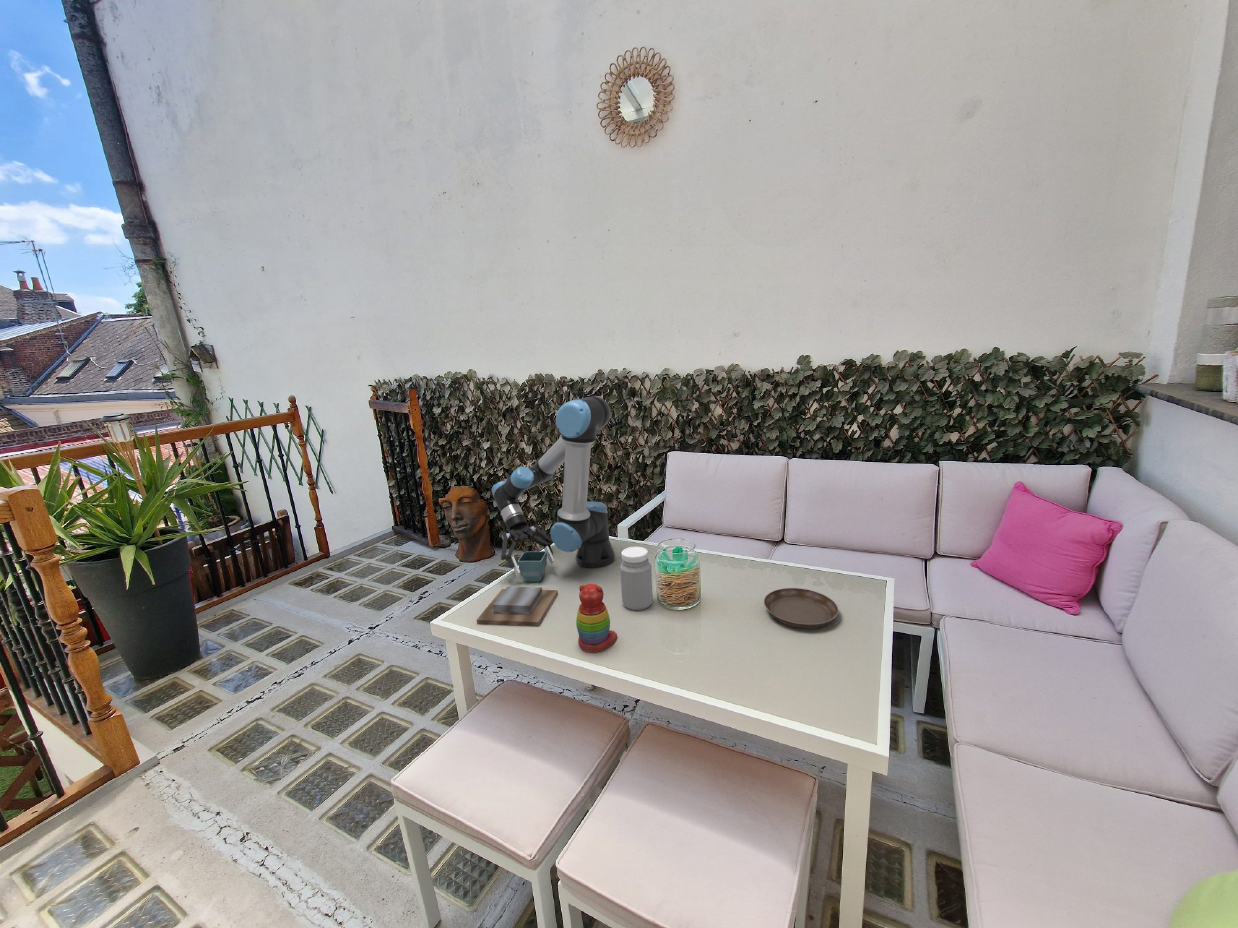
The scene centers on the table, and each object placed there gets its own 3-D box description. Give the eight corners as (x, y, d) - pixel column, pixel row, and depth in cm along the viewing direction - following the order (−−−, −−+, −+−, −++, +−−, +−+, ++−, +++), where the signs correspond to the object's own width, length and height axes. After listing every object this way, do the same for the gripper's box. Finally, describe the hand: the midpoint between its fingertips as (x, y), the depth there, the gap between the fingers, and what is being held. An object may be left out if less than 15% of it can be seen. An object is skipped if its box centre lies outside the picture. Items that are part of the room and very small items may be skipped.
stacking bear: (619, 635, 145) (615, 578, 141) (607, 655, 135) (602, 595, 131) (584, 630, 148) (579, 574, 144) (570, 650, 139) (564, 591, 135)
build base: (558, 594, 171) (556, 581, 170) (539, 626, 152) (537, 612, 151) (502, 592, 175) (500, 580, 174) (477, 624, 156) (475, 610, 155)
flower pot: (549, 573, 188) (547, 550, 186) (543, 584, 179) (541, 560, 177) (526, 573, 189) (523, 551, 186) (519, 584, 180) (517, 561, 178)
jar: (630, 614, 155) (627, 560, 151) (617, 601, 164) (613, 549, 160) (658, 606, 159) (655, 553, 155) (644, 593, 168) (641, 543, 163)
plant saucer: (848, 610, 150) (849, 600, 149) (821, 642, 135) (821, 631, 135) (782, 590, 164) (782, 581, 163) (751, 618, 149) (751, 607, 149)
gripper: (541, 515, 199) (563, 562, 191) (480, 532, 186) (501, 583, 177) (546, 506, 194) (569, 553, 185) (484, 522, 180) (505, 574, 171)
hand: (536, 568), depth 181 cm, fingers open, 13 cm apart
